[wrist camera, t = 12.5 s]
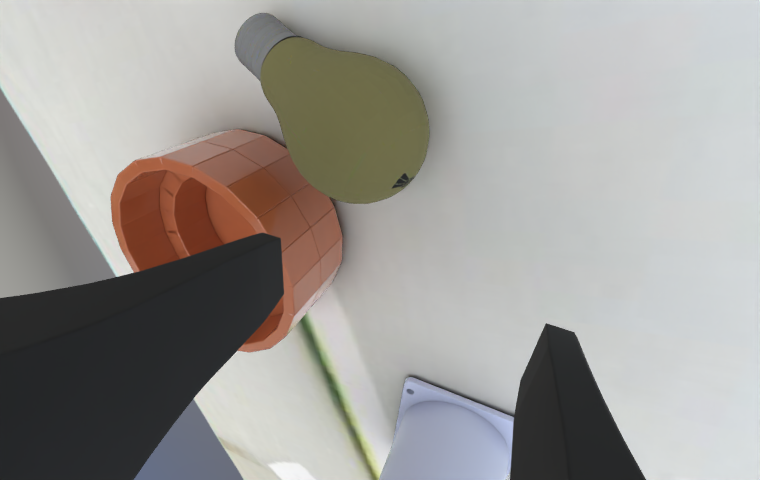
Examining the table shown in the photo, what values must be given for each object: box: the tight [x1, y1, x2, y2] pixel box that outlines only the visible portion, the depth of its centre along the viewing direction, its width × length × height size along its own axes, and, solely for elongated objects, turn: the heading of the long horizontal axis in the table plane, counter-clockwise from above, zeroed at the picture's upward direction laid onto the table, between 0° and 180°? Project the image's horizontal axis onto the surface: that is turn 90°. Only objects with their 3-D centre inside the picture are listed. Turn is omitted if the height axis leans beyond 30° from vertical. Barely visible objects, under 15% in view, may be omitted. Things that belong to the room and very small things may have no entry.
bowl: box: [111, 129, 343, 352], centre depth 22 cm, size 11×11×6 cm
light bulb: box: [235, 13, 429, 204], centre depth 16 cm, size 6×6×10 cm
